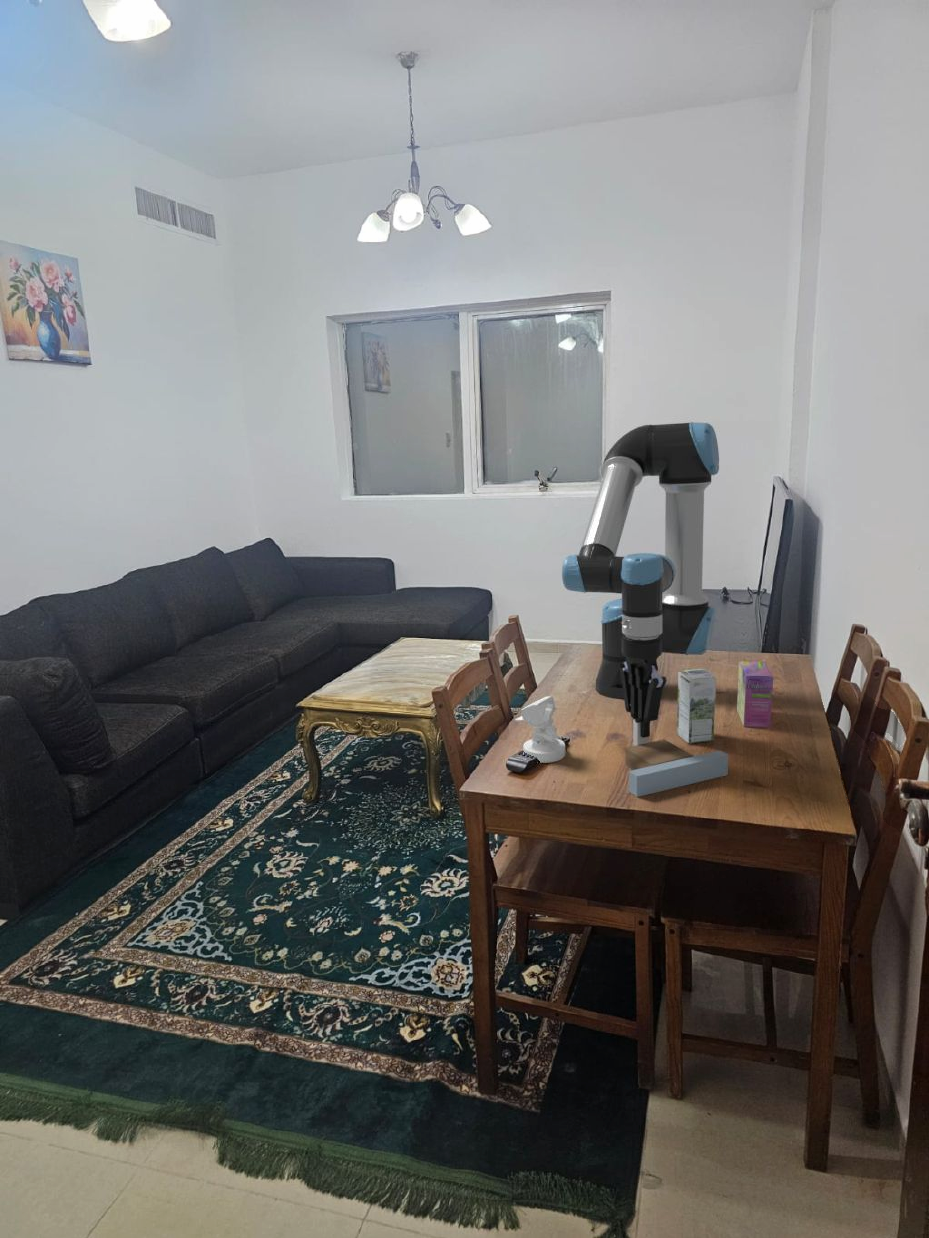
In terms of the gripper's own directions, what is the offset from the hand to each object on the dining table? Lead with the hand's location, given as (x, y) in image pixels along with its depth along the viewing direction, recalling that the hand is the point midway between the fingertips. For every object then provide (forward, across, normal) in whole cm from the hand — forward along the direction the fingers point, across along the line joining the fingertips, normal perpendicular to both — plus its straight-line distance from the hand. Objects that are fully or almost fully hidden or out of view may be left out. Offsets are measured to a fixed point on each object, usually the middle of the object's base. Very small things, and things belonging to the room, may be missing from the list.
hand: (641, 750), depth 153 cm
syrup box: (+2, -4, +16) cm, 17 cm away
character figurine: (+2, -12, -16) cm, 20 cm away
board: (+2, +12, 0) cm, 12 cm away
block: (+2, +5, 0) cm, 6 cm away
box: (+2, -7, +34) cm, 35 cm away
